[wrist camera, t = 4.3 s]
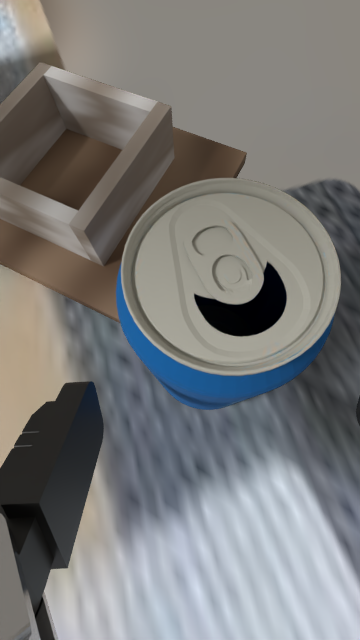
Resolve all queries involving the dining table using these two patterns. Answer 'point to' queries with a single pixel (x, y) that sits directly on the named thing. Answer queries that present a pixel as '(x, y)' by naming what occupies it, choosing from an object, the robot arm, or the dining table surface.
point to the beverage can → (227, 290)
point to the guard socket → (88, 178)
